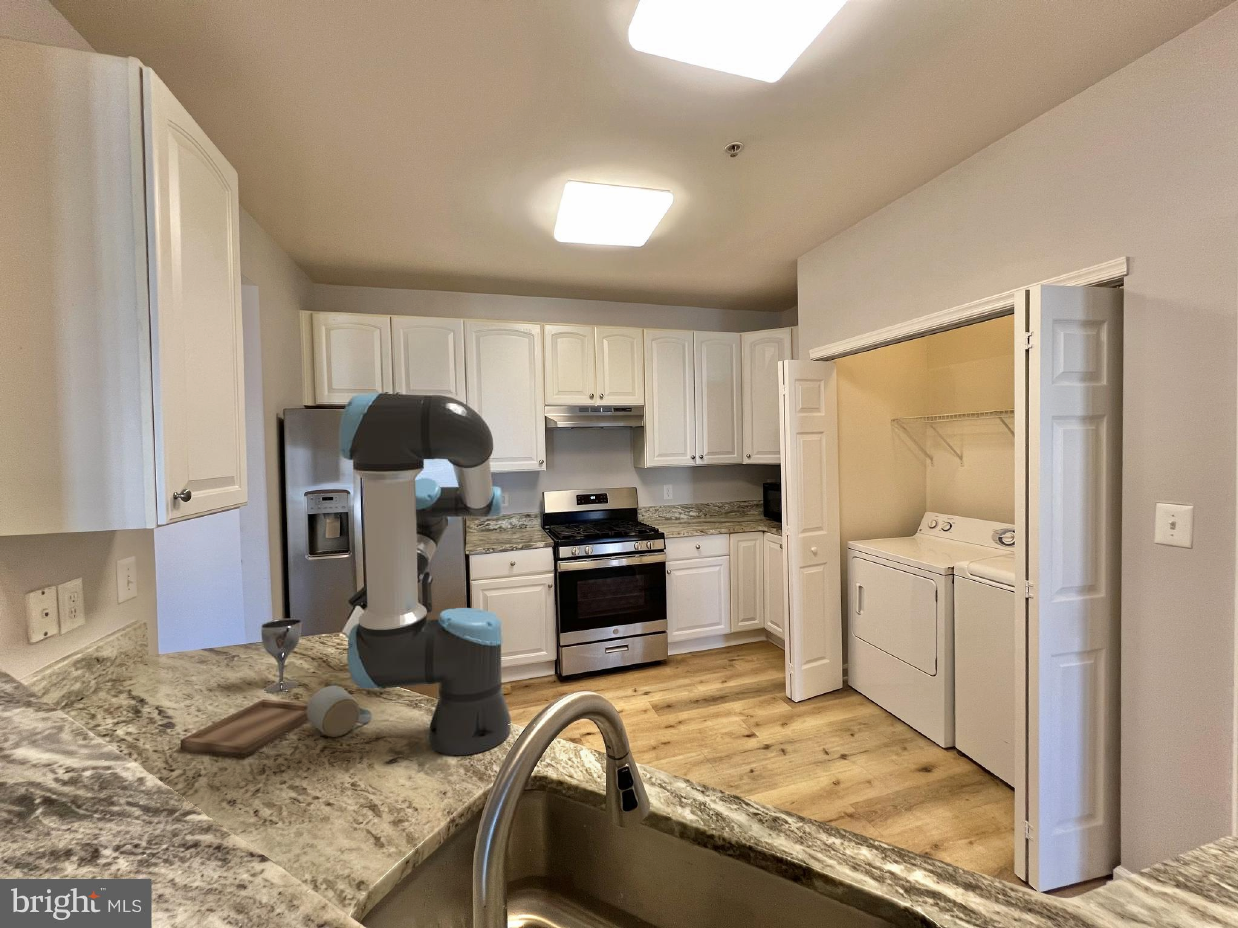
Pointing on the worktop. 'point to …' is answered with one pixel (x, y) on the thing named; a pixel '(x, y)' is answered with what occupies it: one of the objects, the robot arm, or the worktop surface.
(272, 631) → the wine glass
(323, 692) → the ceramic mug
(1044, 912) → the worktop surface
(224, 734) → the walnut tray
